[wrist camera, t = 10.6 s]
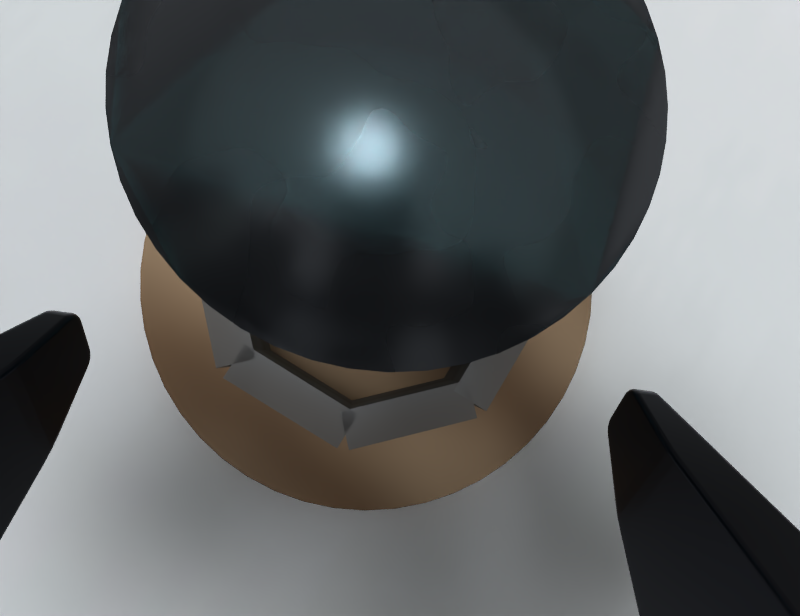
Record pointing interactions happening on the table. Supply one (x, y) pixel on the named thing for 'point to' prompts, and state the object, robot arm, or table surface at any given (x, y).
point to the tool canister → (388, 163)
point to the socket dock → (350, 404)
